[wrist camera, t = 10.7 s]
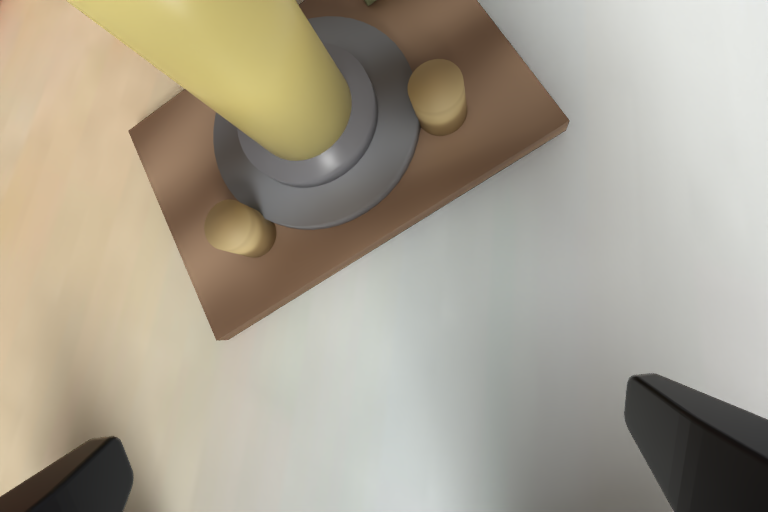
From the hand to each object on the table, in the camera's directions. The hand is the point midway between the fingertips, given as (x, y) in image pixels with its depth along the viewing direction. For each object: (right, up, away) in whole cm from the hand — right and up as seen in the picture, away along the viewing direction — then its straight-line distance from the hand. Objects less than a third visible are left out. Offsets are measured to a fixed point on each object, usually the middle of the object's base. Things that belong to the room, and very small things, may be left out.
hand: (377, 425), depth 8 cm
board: (-3, +10, +16) cm, 19 cm away
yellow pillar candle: (-4, +10, +14) cm, 17 cm away
